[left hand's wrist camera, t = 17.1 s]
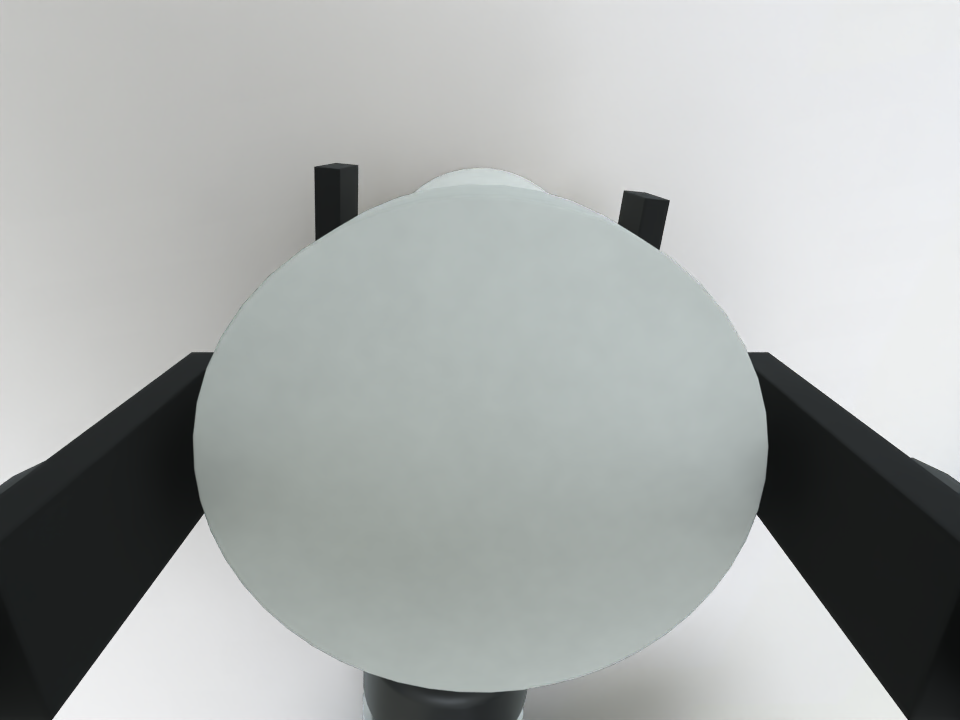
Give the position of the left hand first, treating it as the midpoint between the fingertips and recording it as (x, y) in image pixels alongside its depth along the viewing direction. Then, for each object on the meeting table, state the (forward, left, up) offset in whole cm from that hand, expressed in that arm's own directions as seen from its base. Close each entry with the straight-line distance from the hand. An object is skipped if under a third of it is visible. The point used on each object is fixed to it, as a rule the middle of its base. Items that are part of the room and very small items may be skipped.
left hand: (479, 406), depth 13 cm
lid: (0, 0, +3) cm, 3 cm away
